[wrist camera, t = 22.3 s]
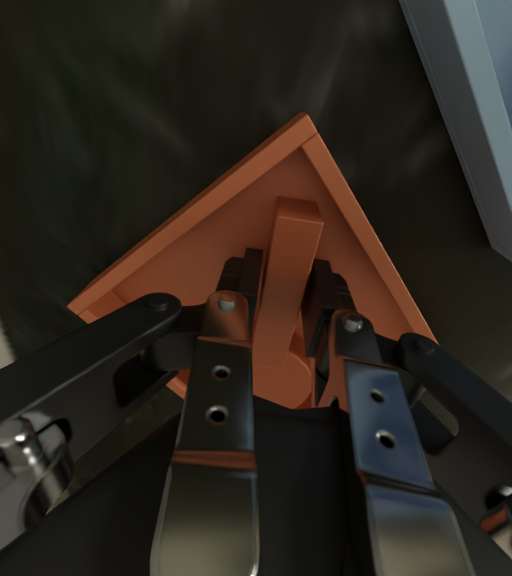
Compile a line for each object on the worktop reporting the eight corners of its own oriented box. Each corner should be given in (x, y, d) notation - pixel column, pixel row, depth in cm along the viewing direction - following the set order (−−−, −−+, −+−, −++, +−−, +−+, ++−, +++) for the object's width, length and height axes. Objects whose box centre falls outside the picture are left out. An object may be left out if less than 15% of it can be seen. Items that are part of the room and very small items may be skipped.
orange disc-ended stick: (231, 187, 12) (221, 206, 10) (361, 208, 12) (378, 231, 10) (213, 382, 18) (204, 417, 16) (298, 394, 18) (300, 432, 16)
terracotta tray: (95, 277, 15) (65, 306, 13) (302, 110, 11) (307, 113, 9) (252, 415, 20) (249, 452, 18) (434, 342, 16) (458, 379, 14)
